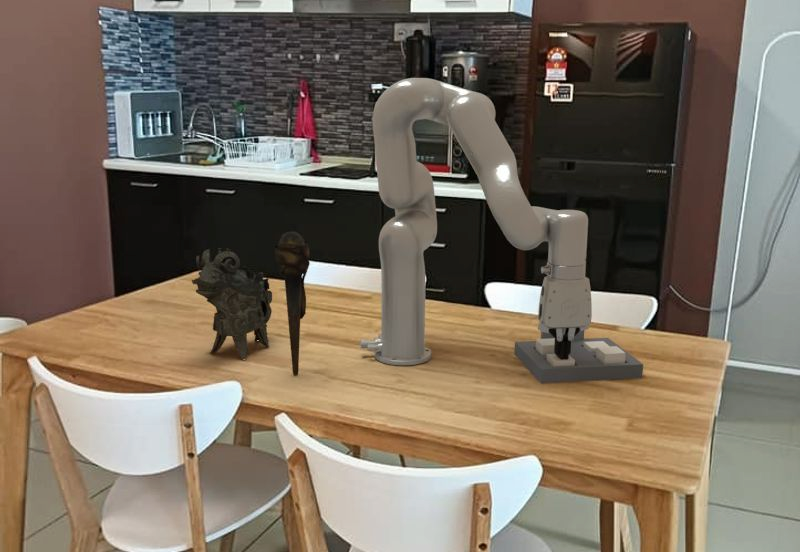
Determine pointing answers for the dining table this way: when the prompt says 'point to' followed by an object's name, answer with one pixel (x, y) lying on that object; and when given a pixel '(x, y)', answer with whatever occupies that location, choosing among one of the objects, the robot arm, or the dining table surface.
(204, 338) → the dining table surface
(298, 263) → the decorative torch
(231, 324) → the vessel
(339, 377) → the dining table surface
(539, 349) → the button
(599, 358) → the button
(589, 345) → the button
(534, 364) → the board
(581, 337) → the card
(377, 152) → the robot arm
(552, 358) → the button
